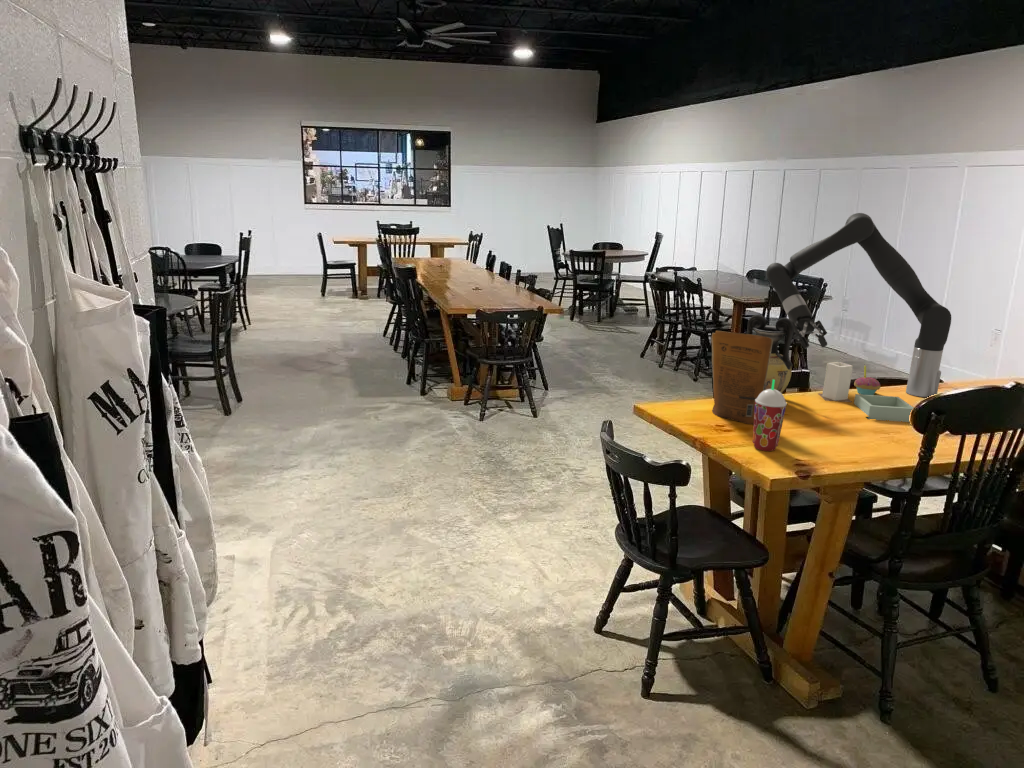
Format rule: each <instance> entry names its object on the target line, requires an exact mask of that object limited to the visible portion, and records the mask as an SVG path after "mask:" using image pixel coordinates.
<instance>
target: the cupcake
mask: <svg viewBox="0 0 1024 768" xmlns="http://www.w3.org/2000/svg"><path fill="white" fill-rule="evenodd" d="M853 385H854V387H856V390H857V394H861V395H875V393H876V392H877V391H879V390H880V389H881V382H879V380H877V379H876V378H875V377H871V376H867V366H866V365H864V367H863V376H862V377H858V378H857V379H855V380H854V383H853Z"/></svg>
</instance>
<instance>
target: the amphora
mask: <svg viewBox="0 0 1024 768" xmlns="http://www.w3.org/2000/svg"><path fill="white" fill-rule="evenodd" d="M754 331H755V333H756V334H755V335H759V336H765V337H769V338H771V339H772V340H773V344H772V349H771V355H770V359H769V365H768V371H767V376H766V381H765V384H764V389H763V391H764V390H766V389H771V388H772V380H773V379H774V380H775V384H774V389H775V390H778V391H779V392H781V393H782V394H783V393H784V391H785V390H786V389H787V387H788V385H789V382H790V381H791V377H792V367H793V366H794V364H793V363H792V361H791V360H790V348H791V343H792V339H793V337H792V336H793V331H794V325H793V322H792V321H791V320H790V319H789V318H788V317H781V318H779V319H778V320H777V321H776V323H775V325H768V324H767V319H766V318H765V317H764V315H762V314H754V315H752V316H751V317H750V318H749V319H748V321H747V330H746V334H752V335H754V334H753V333H754ZM784 335H786V337H785V342H784V345H783V351H782V354H781V353H779V350H778V345H779V341H780V340H782V339H783V337H784Z"/></svg>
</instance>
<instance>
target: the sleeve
mask: <svg viewBox="0 0 1024 768" xmlns="http://www.w3.org/2000/svg"><path fill="white" fill-rule="evenodd" d="M853 367H854V365H851V364H848V363H844V362H841V361H836V362H835V361H834V362H827V363H826V369H825V375H824V380H823V381H824V382H823V387H822V388H823V389H822V393H821V394H822V396H823V397H826V398H829V399H832V400H835V401H834V402H838V401H837V400H845V399H849V391H850V387H851V380H852V375H853V369H854V368H853Z"/></svg>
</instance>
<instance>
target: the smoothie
mask: <svg viewBox="0 0 1024 768" xmlns="http://www.w3.org/2000/svg"><path fill="white" fill-rule="evenodd" d="M774 384H775V380H774V379H773V380H772V388H771V389H766V390H764V391H762V392H761V393H760V394H759V395H758V397H757V398H756V399H755V412H754V424H753V427H752V428H753V430H752V431H753V432H752V433H753V434H752V443H753V447H754V448H756V450H760V451H764V452H774V451H775V450H776V448H777V447H778V446H779V443H780V442H779V441H780V437H781V431H782V427H783V424H784V418H785V413H786V408H787V405H788V403H787V401H786V398H785V396H784V395H783V392H782V393H781V392H779V391H778V390H775V389H774Z"/></svg>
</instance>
